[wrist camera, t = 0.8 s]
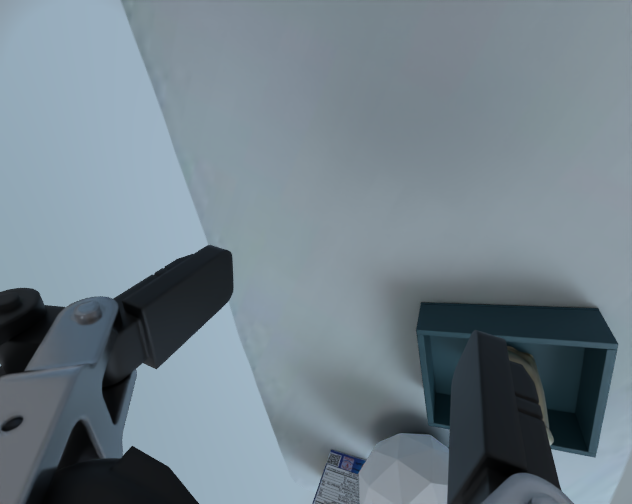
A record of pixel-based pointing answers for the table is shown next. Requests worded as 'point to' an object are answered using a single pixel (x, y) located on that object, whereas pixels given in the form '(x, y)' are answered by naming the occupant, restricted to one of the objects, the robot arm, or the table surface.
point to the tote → (546, 348)
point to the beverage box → (339, 480)
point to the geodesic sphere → (405, 471)
